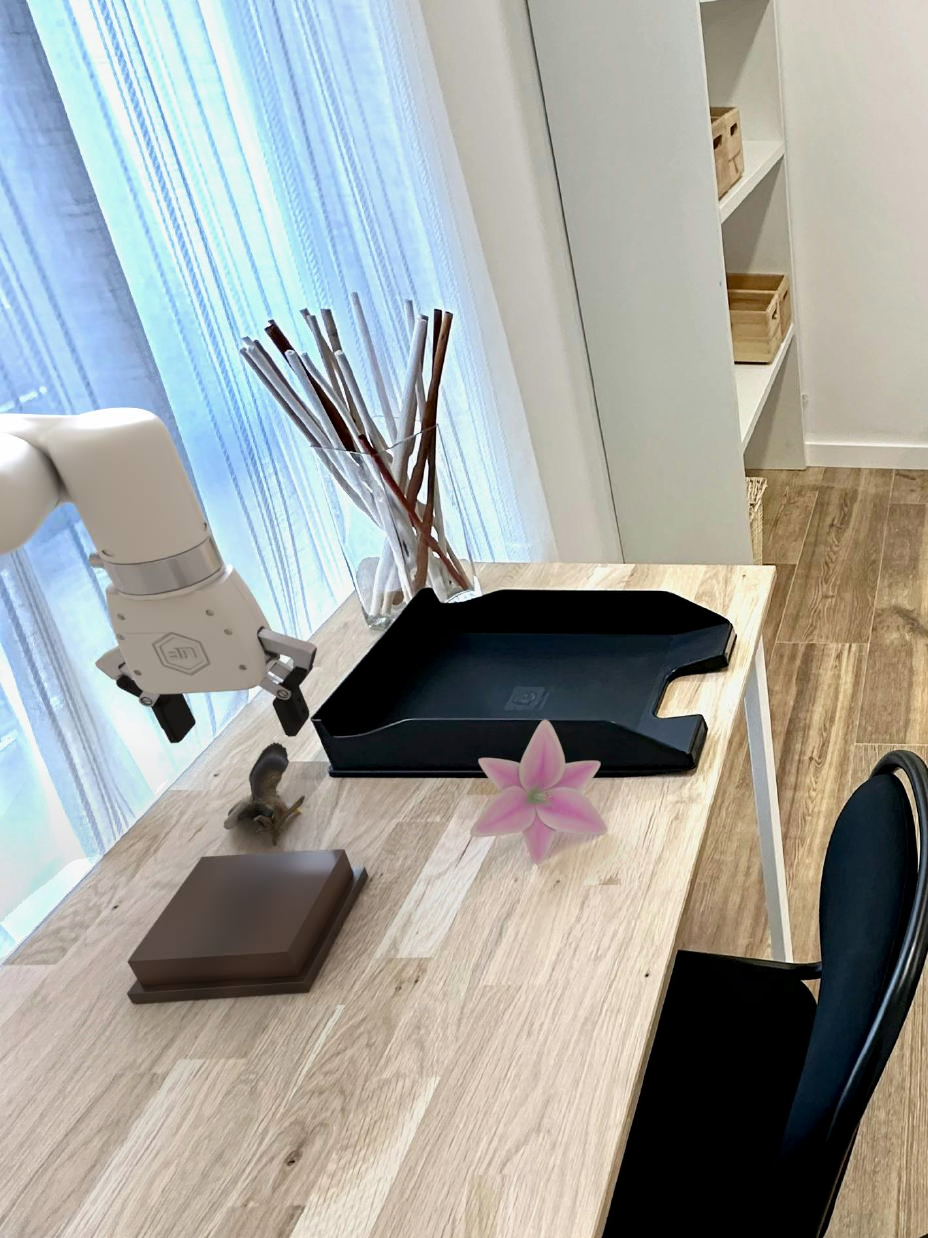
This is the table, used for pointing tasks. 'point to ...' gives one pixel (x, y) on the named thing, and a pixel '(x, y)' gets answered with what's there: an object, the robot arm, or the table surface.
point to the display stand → (247, 927)
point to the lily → (539, 795)
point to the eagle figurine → (265, 795)
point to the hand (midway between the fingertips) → (241, 730)
